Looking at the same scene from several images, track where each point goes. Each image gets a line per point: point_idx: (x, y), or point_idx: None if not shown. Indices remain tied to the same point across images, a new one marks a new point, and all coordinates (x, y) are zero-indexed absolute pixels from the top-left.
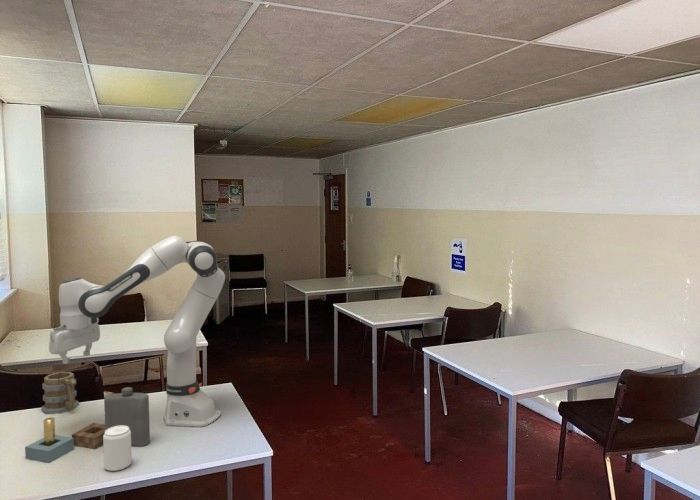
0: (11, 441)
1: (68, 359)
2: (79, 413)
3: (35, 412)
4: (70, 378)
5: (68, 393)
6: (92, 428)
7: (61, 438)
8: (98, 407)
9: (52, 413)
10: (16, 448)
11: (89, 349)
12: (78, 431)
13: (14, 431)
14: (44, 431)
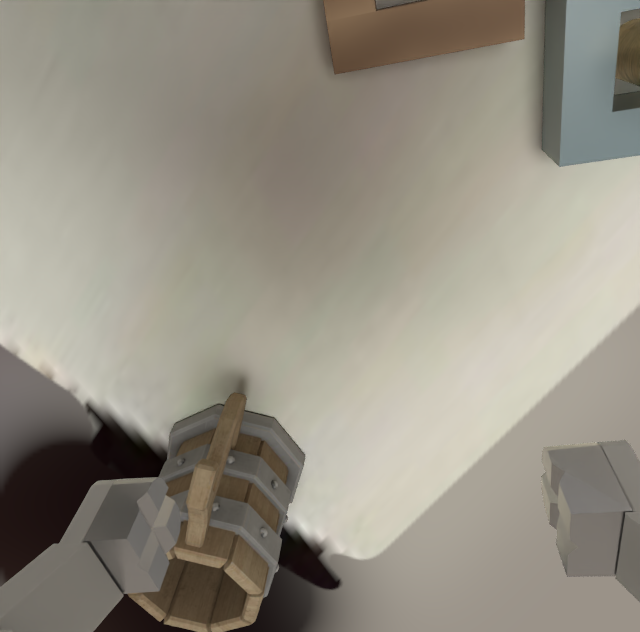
0: (560, 353)
1: (602, 491)
2: (225, 351)
3: (315, 495)
4: None
5: (227, 457)
6: (388, 9)
7: (597, 39)
8: (135, 334)
9: (290, 438)
10: (617, 272)
11: (55, 565)
12: (474, 37)
13: (477, 421)
14: None
